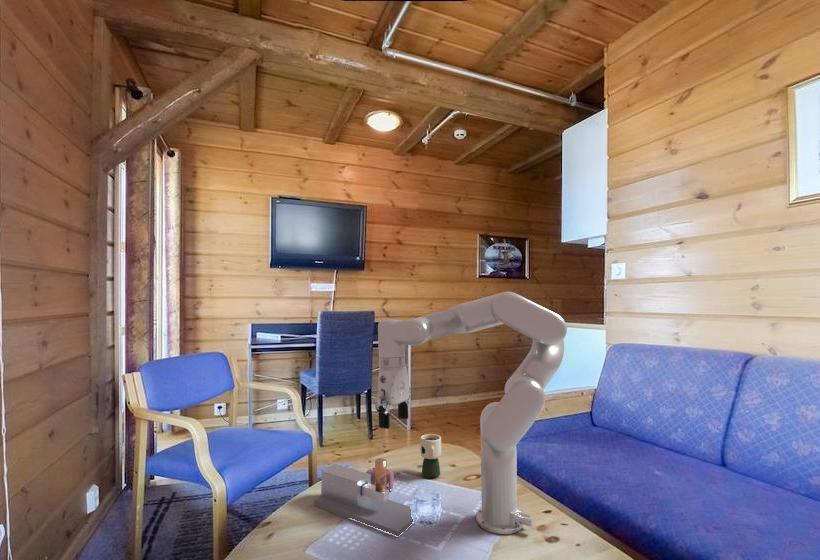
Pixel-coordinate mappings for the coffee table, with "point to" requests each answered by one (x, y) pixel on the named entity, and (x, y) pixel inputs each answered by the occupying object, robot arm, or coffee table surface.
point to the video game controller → (388, 477)
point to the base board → (372, 513)
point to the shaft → (377, 483)
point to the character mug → (430, 454)
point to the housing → (344, 485)
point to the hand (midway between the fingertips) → (394, 422)
